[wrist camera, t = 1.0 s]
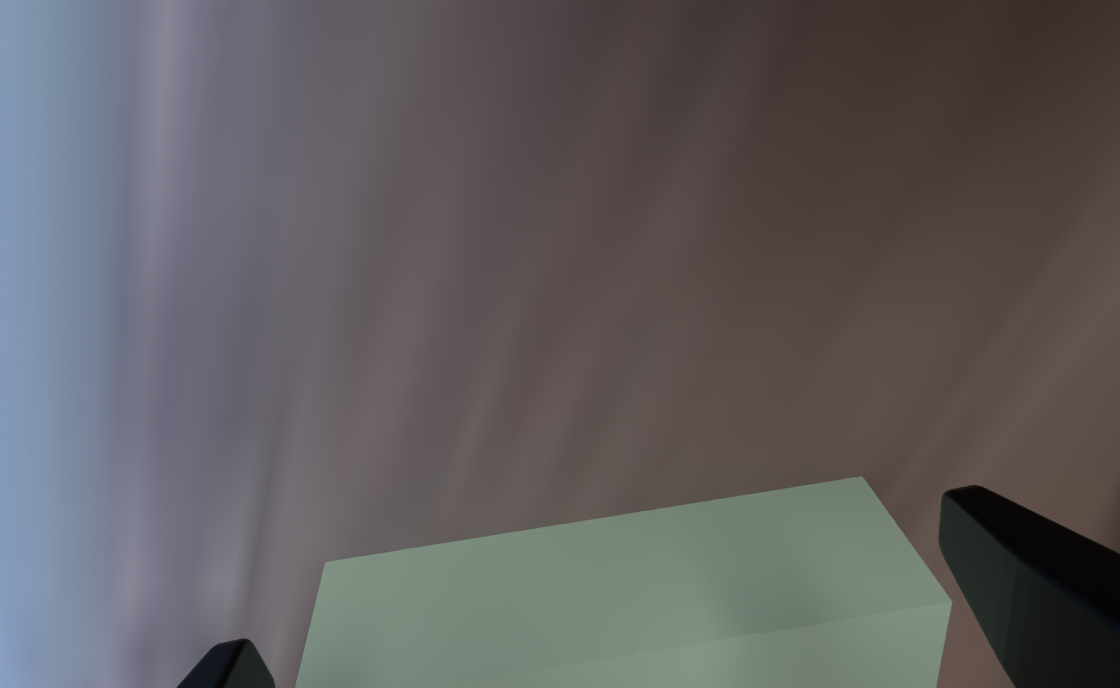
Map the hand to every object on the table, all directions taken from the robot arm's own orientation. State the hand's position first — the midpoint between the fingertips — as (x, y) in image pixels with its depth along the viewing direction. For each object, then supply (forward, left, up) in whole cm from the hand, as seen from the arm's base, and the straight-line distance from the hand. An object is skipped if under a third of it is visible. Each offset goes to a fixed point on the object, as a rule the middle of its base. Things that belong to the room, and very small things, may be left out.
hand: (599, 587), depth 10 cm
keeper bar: (0, +9, -8) cm, 12 cm away
